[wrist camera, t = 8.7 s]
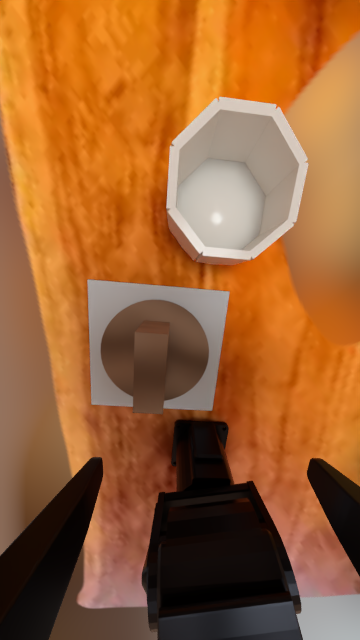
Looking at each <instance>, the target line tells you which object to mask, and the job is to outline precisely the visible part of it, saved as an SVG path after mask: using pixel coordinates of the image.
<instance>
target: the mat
mask: <svg viewBox="0 0 360 640" xmlns="http://www.w3.org/2000/svg"><path fill="white" fill-rule="evenodd" d="M228 299H229V291H218V290H206V289H194V288H183V287H171V286H159V285H148V284H136V283H124V282H113V281H101V280H90V279H88V310H89V341H90V373H91V404H92V405H110V406H129V407H133V397H132V396H130V395H128V394H126V393H125V392H123V391H122V390H121V389H119V388H118V387H117V386H116V385H115V384H114V383H113V382H112V381H111V379H110V378H109V377H108V375H107V373H106V371H105V369H104V366H103V364H102V360H101V352H100V350H101V341H102V337H103V334H104V331H105V329H106V327H107V325H108V324H109V322H110V321H111V320H112V319H113V318H114V317H115V316H116V315H117V314H118V313H119V312H120V311H122V310H123V309H125V308H127V307H128V306H130V305H132V304H135V303H137V302H141V301H144V300H165V301H169V302H173V303H175V304H178V305H180V306H182V307H183V308H185V309H186V310H188V311H189V312H190V313H191V314H192V315H193V316H194V317H195V318H196V319H197V320H198V322H199V323H200V325H201V326H202V328H203V330H204V332H205V334H206V337H207V340H208V345H209V359H208V364H207V367H206V370H205V372H204V374H203V376H202V377H201V379H200V380H199V382H198V383H197V384H196V385H195V386H194V387H193V388H192V389H191V390H189V391H188V392H186V393H185V394H183V395H181V396H179V397H177V398H174V399H171V400H166V401H164V406H163V408H167V409H186V410H205V411H212V408H213V401H214V394H215V388H216V381H217V374H218V367H219V360H220V353H221V347H222V340H223V333H224V326H225V319H226V313H227V306H228Z"/></svg>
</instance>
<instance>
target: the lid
mask: <svg viewBox="0 0 360 640" xmlns="http://www.w3.org/2000/svg"><path fill="white" fill-rule="evenodd" d="M100 352H101V360H102V364H103V366H104V369H105V371H106V373H107V375H108V377H109V378H110V379H111V381H112V382H113V383H114V384H115V385H116V386H117V387H118V388H119V389H121V390H122V391H123V392H125V393H126V394H128V395H130V396H132V397H133V413H150V414H163V406H164V401H166V400H171V399H174V398H177V397H179V396H181V395H183V394H185V393H186V392H188V391H189V390H191V389H192V388H193V387H194V386H195V385H196V384H197V383H198V382H199V380H200V379H201V377H202V376H203V374H204V372H205V370H206V367H207V364H208V359H209V345H208V340H207V337H206V334H205V332H204V330H203V328H202V326H201V325H200V323H199V322H198V320H197V319H196V318H195V317H194V316H193V315H192V314H191V313H190V312H189V311H188V310H186V309H185V308H183V307H182V306H180V305H178V304H175V303H173V302H169V301H165V300H144V301H141V302H137V303H135V304H132V305H130V306H128V307H127V308H125V309H123V310H122V311H120V312H119V313H118V314H117V315H116V316H115V317H114V318H113V319H112V320H111V321H110V322H109V324H108V325H107V327H106V329H105V331H104V334H103V337H102V341H101V350H100Z"/></svg>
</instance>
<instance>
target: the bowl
mask: <svg viewBox="0 0 360 640" xmlns="http://www.w3.org/2000/svg"><path fill="white" fill-rule="evenodd" d="M307 160H308V158H307V156H306V155H305V153H304V151H303V150H302V147H301V145H300V144H299V142H298V140H297V138H296V136H295V135H294V133H293V131H292V129H291V127H290V126H289V124H288V122H287V120H286V118H285V116H284V114H283V113H282V111H281V109H280V107H278V108H277V109H276V104H269V103H262V102H255V101H248V100H241V99H233V98H226V97H219V101H218V100H217V98H215V99H214V100H213V101H212V102H211V103H210V104H209V105H208V106H207V107H206V108H205V109H204V110H203V111H202V112H201V113H200V114H199V115H198V116H197V117H196V118H195V119H194V120H193V121H192V122H191V123H190V124H189V125H188V126H187V127H186V128H185V129H184V130H183V131H182V132H181V133H180V134H179V135H178V136H177V137H176V138H175V139H174V140H173V141H172V146H170V157H169V173H168V189H167V206H166V210H167V218H168V226H169V230H170V231H171V233H172V234H173V235H174V237H175V238H176V239H177V241H178V243H179V244H180V246H181V247H182V248H183V249H184V251H185V252H186V253H188V254H189V256H190V257H191V258H192V260H193V261H194V260H195V259H196V262H201V263H207V264H223V265H235V264H238V263H242V262H245V261H249V260H252V259H254V258H255V257H256V256H258V255H259V254H260V253H261V252H262V251H264V250H265V249H266V248H267V247H268V246H270V245H271V244H272V243H273V242H275V241H276V240H277V239H278V238H279V237H281V236H282V235H283V234H284V233H285V232H287V231H288V230H289V229H290V228H291V227H293V226H294V224H293V223H295V222H296V220H297V215H298V211H299V206H300V201H301V196H302V192H303V187H304V182H305V178H306V173H307V168H308V163H305V162H306V161H307Z"/></svg>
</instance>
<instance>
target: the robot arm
mask: <svg viewBox="0 0 360 640" xmlns="http://www.w3.org/2000/svg"><path fill="white" fill-rule="evenodd" d="M178 425H180V426H178ZM223 427H225V428H223ZM227 435H228V425H227V424H226V423H221V422H201V421H180V420H179V421H176V422H175V427H174V438H173V448H172V459H171V464H172V465H173V466H176V473H177V492H170V493H165V492H160V493H159V496H158V503H156V507H155V512H154V519H153V525H152V531H151V537H150V544H149V549H148V552H147V556H146V560H145V564H144V567H143V571H142V586H143V588H144V590H145V592H146V594H147V605H148V620H149V628H150V631H151V632H158V640H303V638H302V634H301V630H300V627H299V623H298V619H297V616H296V614H299V613H301V602H300V596H299V591H298V587H297V583H296V580H295V576H294V573H293V570H292V567H291V564H290V561H289V558H288V555H287V552H286V549H285V547H284V544H283V542H282V539H281V537H280V535H279V533H278V530H277V528H276V526H275V524H274V522H273V520H272V518H271V516H270V514H269V512H268V510H267V508H266V506H265V505H264V503H263V501H262V499H261V497H260V495H259V493H258V491H257V489H256V487H255V485H254V483H253V481H247V483H241V484H234V481H233V477H232V474H231V471H230V467H229V464H228V460H227V457H226V454H225V446H226V440H227ZM307 476H308V479H309V482H310V484H311V486H312V488H313V490H314V492H315V494H316V496H317V498H318V500H319V502H320V504H321V506H322V508H323V510H324V512H325V514H326V516H327V518H328V520H329V522H330V524H331V526H332V528H333V530H334V532H335V534H336V536H337V537H338V539H339V541H340V543H341V545H342V546H343V548H344V550H345V552H346V553H347V555H348V557H349V559H350V560H351V562H352V564H353V566H354V567H355V569H356V571H357V573H358V574H359V576H360V487H359V486H358V485H357V484H355V483H354V482H353V481H351V480H350V479H349V478H347V477H346V476H344V475H343V474H342V473H340V472H339V471H338V470H336V469H335V468H334V467H332V466H331V465H330V464H328V463H327V462H326V461H324V460H323V459H320V458H312V459H310V462H309V466H308V470H307ZM102 478H103V462H102V458H101V457H93V458H91V459H90V460H89V461H88V462H87V463H86V464H85V465H84V466H83V467H82V468H81V469H80V470H79V472H78V473H77V474H76V475H75V476H74V477H73V478H72V479H71V480H70V481H69V482H68V483H67V484H66V486H65V487H64V488H63V489H62V490H61V491H60V492H59V493H58V494H57V496H55V497H54V498H53V500H52V501H51V502H50V503H49V504H48V505H47V506H46V507H45V508H44V509H43V510H42V512H40V514H39V515H38V516H37V517H36V518H35V519H34V520H33V521H32V522H31V523H30V524H29V525H28V526H27V528H26V529H25V530H24V531H23V532H22V533H21V534H20V535H19V536H18V537H17V539H15V540H14V541H13V543H12V544H11V545H10V546H9V547H8V548H7V549H6V550H5V551H4V552H3V554H1V556H0V640H49V637H50V634H51V631H52V628H53V626H54V623H55V620H56V617H57V615H58V612H59V609H60V606H61V604H62V601H63V598H64V595H65V593H66V590H67V587H68V584H69V581H70V579H71V576H72V573H73V571H74V568H75V565H76V562H77V560H78V557H79V554H80V551H81V549H82V546H83V543H84V540H85V537H86V534H87V531H88V528H89V524H90V521H91V517H92V514H93V510H94V507H95V503H96V500H97V496H98V493H99V489H100V485H101V482H102Z"/></svg>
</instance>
